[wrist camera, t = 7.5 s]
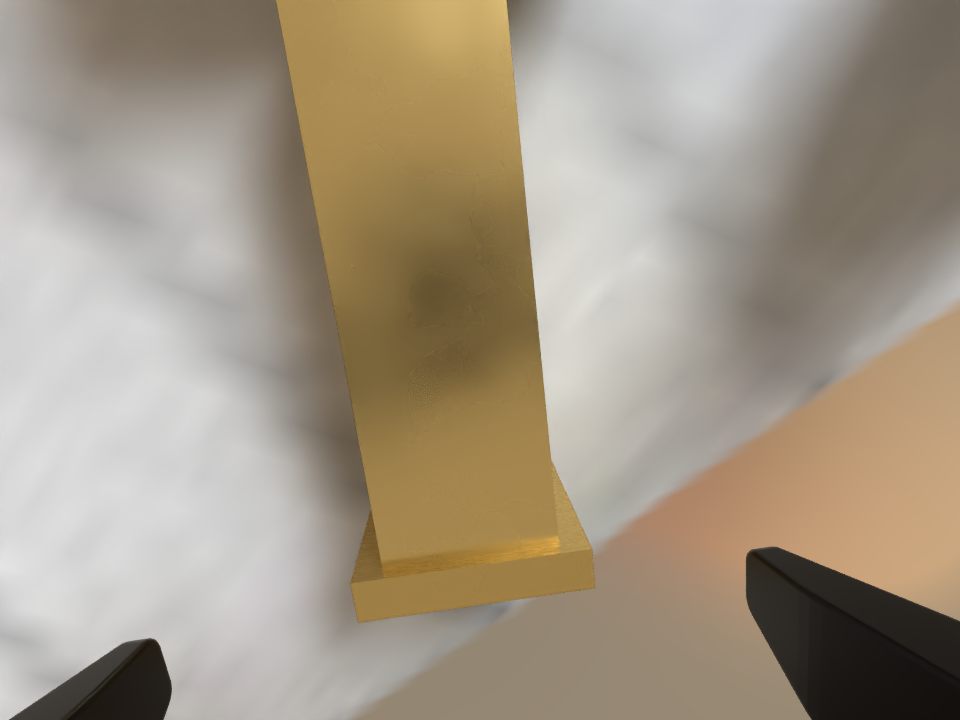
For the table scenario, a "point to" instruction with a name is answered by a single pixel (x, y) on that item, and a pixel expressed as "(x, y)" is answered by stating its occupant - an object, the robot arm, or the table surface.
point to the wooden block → (433, 300)
